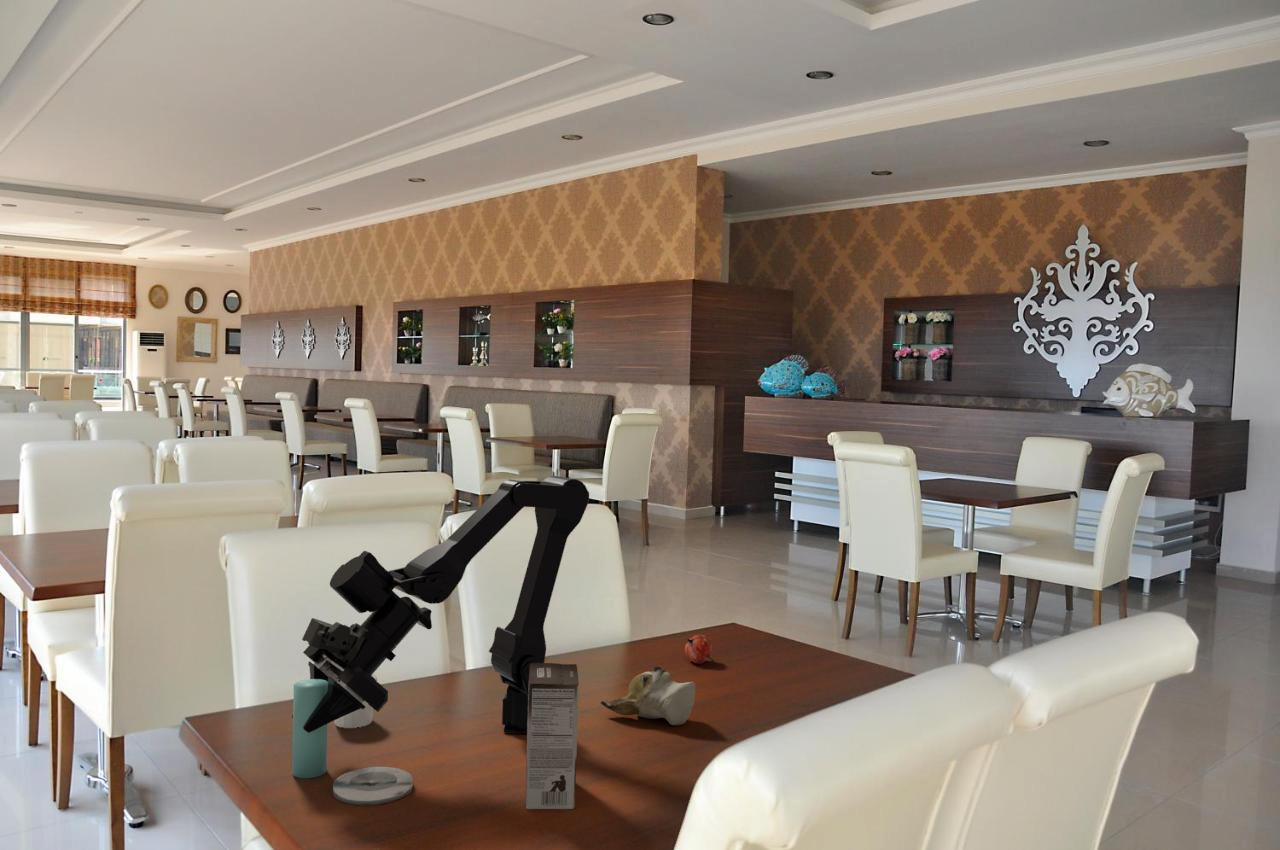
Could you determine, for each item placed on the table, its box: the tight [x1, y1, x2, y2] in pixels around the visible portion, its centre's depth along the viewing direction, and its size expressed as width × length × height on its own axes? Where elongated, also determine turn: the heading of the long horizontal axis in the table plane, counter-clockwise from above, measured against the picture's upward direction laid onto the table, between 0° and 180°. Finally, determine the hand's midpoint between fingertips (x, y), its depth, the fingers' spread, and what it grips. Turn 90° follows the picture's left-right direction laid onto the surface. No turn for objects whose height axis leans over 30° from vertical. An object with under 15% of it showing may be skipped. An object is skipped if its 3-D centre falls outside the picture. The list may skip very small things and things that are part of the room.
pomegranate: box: [684, 634, 714, 665], centre depth 192 cm, size 6×6×8 cm
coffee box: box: [525, 662, 580, 810], centre depth 127 cm, size 9×6×16 cm
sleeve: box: [291, 678, 328, 779], centre depth 132 cm, size 4×4×12 cm
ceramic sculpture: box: [600, 666, 696, 726], centre depth 159 cm, size 11×9×15 cm
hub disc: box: [332, 766, 414, 806], centre depth 128 cm, size 10×10×1 cm
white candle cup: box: [333, 673, 378, 729], centre depth 153 cm, size 7×7×7 cm
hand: (299, 725), depth 132 cm, fingers closed on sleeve, 4 cm apart
